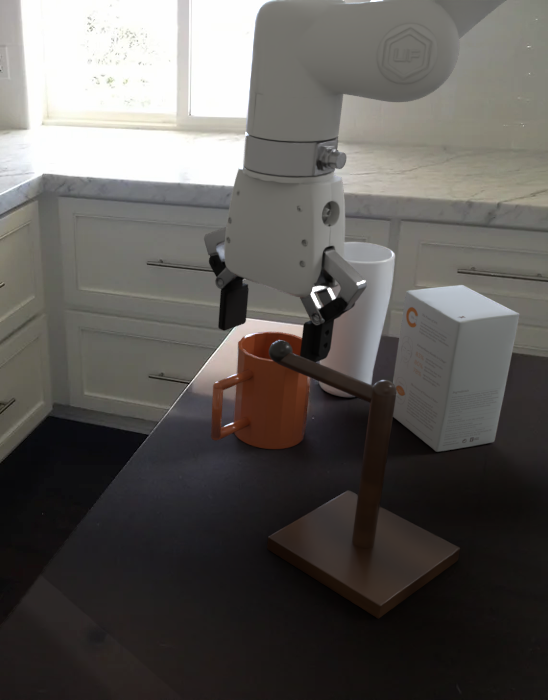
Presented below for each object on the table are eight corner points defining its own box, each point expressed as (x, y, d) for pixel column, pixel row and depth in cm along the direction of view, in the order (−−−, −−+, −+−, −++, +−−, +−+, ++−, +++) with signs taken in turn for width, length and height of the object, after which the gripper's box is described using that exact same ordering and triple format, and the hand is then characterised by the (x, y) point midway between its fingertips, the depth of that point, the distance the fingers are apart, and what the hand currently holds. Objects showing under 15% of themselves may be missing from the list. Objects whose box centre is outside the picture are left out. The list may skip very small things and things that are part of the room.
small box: (495, 444, 80) (523, 313, 75) (435, 453, 79) (459, 321, 73) (441, 404, 87) (463, 282, 82) (385, 412, 86) (403, 289, 81)
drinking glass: (310, 399, 89) (324, 260, 83) (310, 371, 95) (323, 239, 89) (379, 405, 87) (399, 264, 81) (375, 376, 93) (393, 243, 87)
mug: (265, 408, 87) (271, 325, 84) (319, 433, 83) (328, 347, 79) (185, 444, 81) (188, 357, 78) (238, 474, 76) (244, 383, 73)
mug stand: (298, 476, 76) (313, 320, 70) (458, 560, 65) (493, 384, 59) (218, 519, 70) (227, 353, 64) (378, 619, 60) (407, 432, 53)
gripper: (406, 168, 68) (376, 364, 75) (242, 135, 81) (229, 306, 88) (347, 182, 64) (321, 388, 71) (184, 145, 76) (175, 324, 84)
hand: (271, 342), depth 79 cm, fingers open, 9 cm apart
